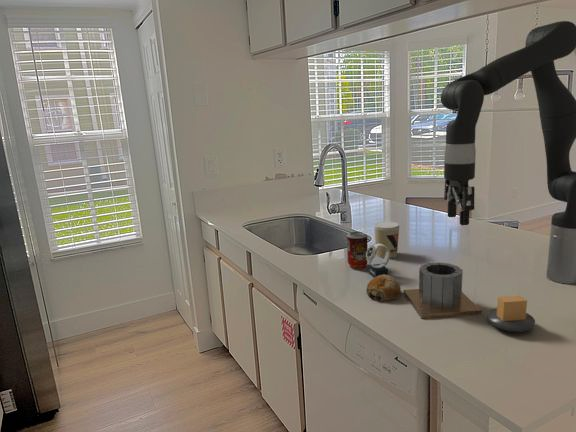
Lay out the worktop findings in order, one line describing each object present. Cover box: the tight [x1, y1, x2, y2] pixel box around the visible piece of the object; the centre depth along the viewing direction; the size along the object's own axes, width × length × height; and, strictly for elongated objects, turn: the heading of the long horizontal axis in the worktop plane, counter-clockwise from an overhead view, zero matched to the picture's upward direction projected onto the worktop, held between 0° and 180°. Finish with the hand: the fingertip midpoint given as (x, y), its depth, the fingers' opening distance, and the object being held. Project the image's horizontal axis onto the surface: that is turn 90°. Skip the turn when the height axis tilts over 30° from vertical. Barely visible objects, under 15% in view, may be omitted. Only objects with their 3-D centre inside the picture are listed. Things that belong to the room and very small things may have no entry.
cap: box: [487, 295, 536, 334], centre depth 105 cm, size 10×10×8 cm
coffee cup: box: [373, 221, 400, 259], centre depth 161 cm, size 9×9×12 cm
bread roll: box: [366, 274, 402, 302], centre depth 127 cm, size 10×10×8 cm
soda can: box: [346, 231, 368, 270], centre depth 151 cm, size 7×7×12 cm
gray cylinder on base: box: [402, 262, 482, 320], centre depth 119 cm, size 16×16×10 cm
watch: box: [366, 243, 391, 279], centre depth 141 cm, size 6×8×11 cm
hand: (457, 220), depth 115 cm, fingers open, 8 cm apart
